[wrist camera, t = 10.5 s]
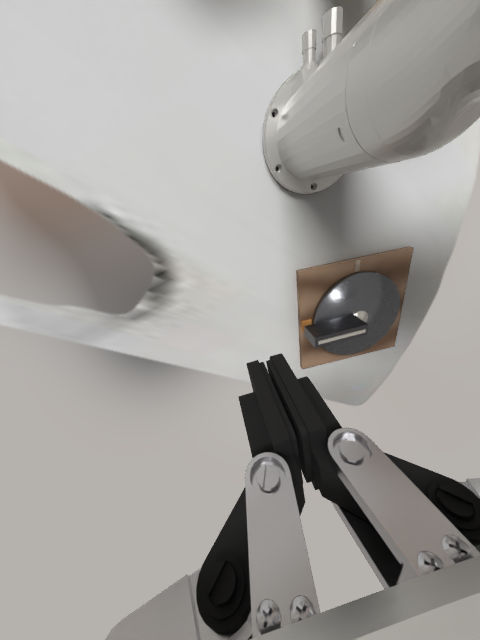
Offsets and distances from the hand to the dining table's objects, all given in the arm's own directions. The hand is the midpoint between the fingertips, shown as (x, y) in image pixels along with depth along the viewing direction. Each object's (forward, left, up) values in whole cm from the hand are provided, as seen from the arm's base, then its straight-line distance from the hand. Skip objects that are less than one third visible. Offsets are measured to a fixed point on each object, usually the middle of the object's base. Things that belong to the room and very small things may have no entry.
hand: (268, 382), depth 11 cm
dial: (+14, +21, -26) cm, 36 cm away
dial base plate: (+14, +22, -27) cm, 38 cm away
